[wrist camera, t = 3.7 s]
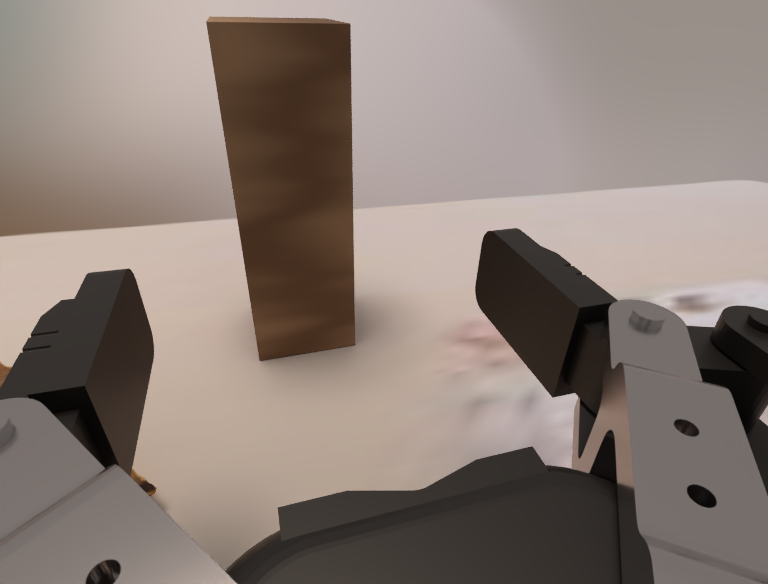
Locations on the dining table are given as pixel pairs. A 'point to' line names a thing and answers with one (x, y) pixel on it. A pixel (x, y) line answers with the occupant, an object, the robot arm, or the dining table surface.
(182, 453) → the dining table surface
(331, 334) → the pillar
